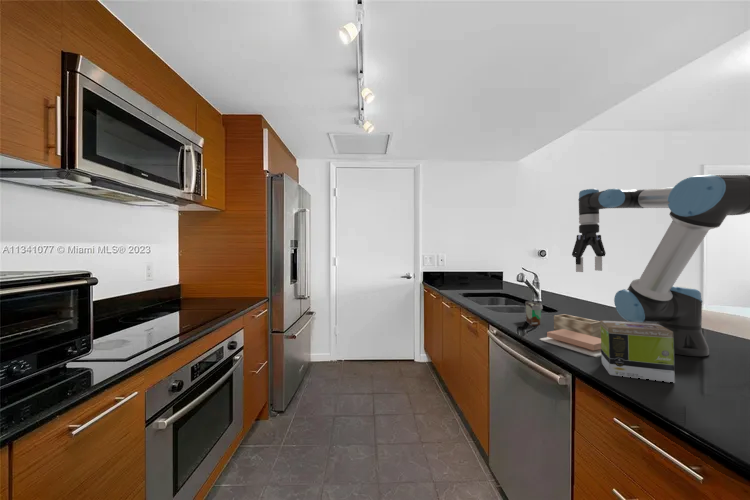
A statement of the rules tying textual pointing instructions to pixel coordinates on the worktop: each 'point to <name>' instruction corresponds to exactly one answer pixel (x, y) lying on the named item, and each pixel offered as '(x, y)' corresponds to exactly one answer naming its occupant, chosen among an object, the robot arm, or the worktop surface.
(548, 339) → the grey mat
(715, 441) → the worktop surface
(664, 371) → the tea box
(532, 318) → the food container
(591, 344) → the peach flat tile
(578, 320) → the birch box
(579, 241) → the robot arm
